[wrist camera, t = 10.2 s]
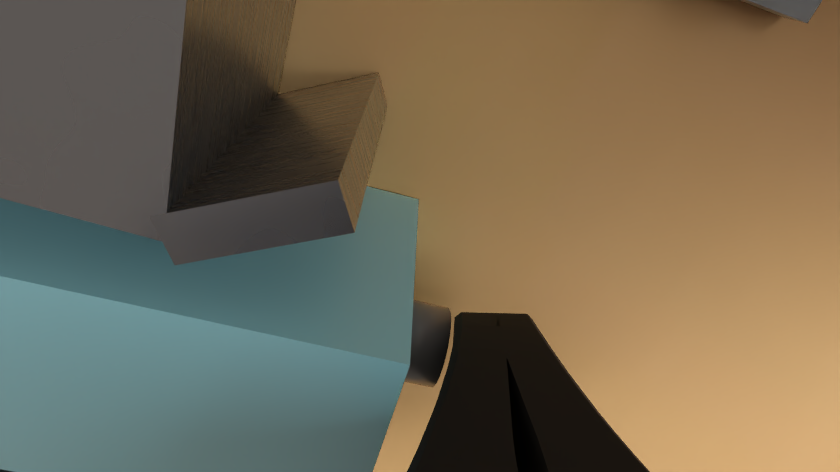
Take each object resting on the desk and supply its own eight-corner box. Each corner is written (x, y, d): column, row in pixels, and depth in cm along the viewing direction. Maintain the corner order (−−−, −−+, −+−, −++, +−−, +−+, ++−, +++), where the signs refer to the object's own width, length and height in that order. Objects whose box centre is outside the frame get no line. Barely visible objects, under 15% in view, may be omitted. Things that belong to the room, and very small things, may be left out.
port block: (419, -4, 8) (404, 69, 4) (296, 414, 13) (228, 657, 9) (-198, -221, 7) (-1169, -454, 3) (-90, 324, 12) (-392, 552, 8)
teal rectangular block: (463, 210, 10) (482, 380, 6) (416, 343, 12) (408, 541, 8) (95, 117, 10) (-135, 246, 6) (100, 273, 11) (-74, 455, 7)
